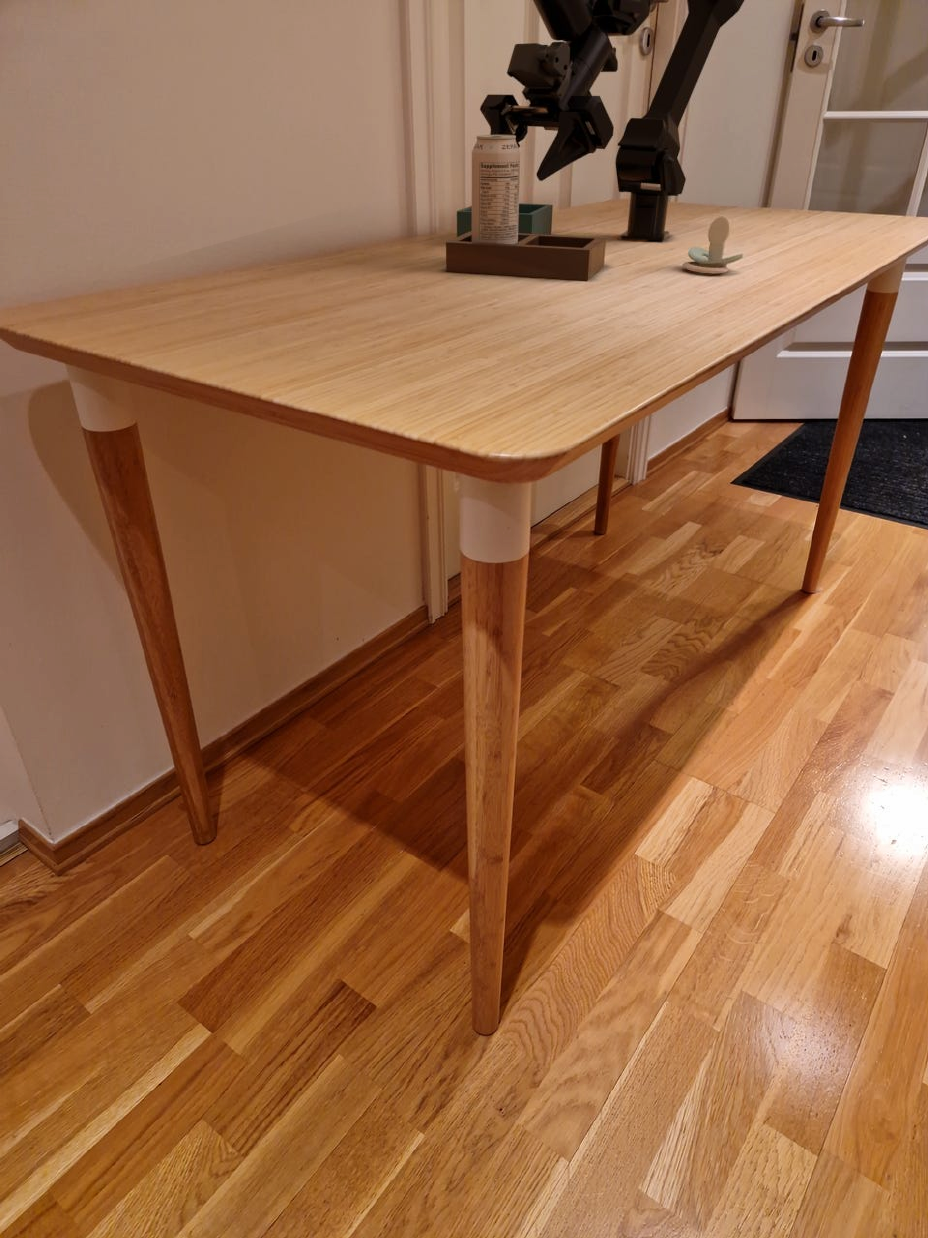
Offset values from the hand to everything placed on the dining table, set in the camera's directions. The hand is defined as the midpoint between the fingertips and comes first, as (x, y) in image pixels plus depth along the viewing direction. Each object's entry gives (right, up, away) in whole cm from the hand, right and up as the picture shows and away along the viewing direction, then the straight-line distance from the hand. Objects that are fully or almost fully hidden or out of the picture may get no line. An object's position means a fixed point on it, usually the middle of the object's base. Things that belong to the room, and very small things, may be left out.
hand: (511, 175), depth 106 cm
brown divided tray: (+2, -11, +3) cm, 11 cm away
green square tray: (0, +2, +22) cm, 22 cm away
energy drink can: (-2, -10, +4) cm, 11 cm away
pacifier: (+25, -12, +1) cm, 28 cm away
